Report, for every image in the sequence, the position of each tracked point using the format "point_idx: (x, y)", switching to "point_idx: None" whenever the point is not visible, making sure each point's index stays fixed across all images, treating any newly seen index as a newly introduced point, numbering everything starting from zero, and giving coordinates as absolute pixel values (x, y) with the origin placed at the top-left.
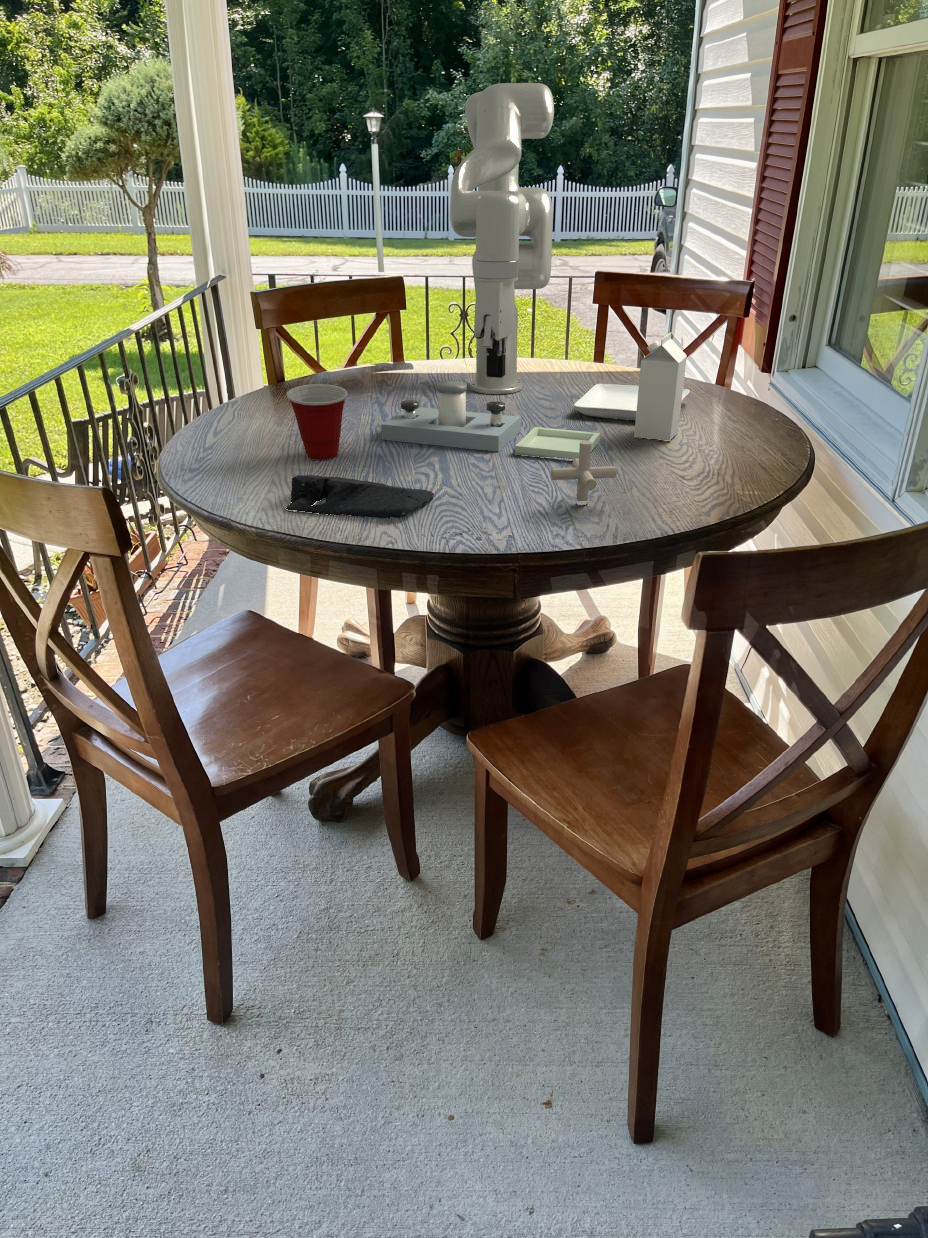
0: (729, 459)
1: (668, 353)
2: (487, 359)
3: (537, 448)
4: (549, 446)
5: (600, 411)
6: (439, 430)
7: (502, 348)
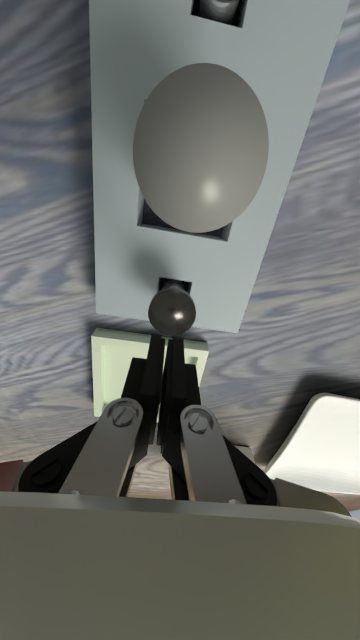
0: (154, 494)
1: None
2: (143, 379)
3: (92, 366)
4: None
5: (299, 421)
6: (93, 163)
7: (170, 474)
